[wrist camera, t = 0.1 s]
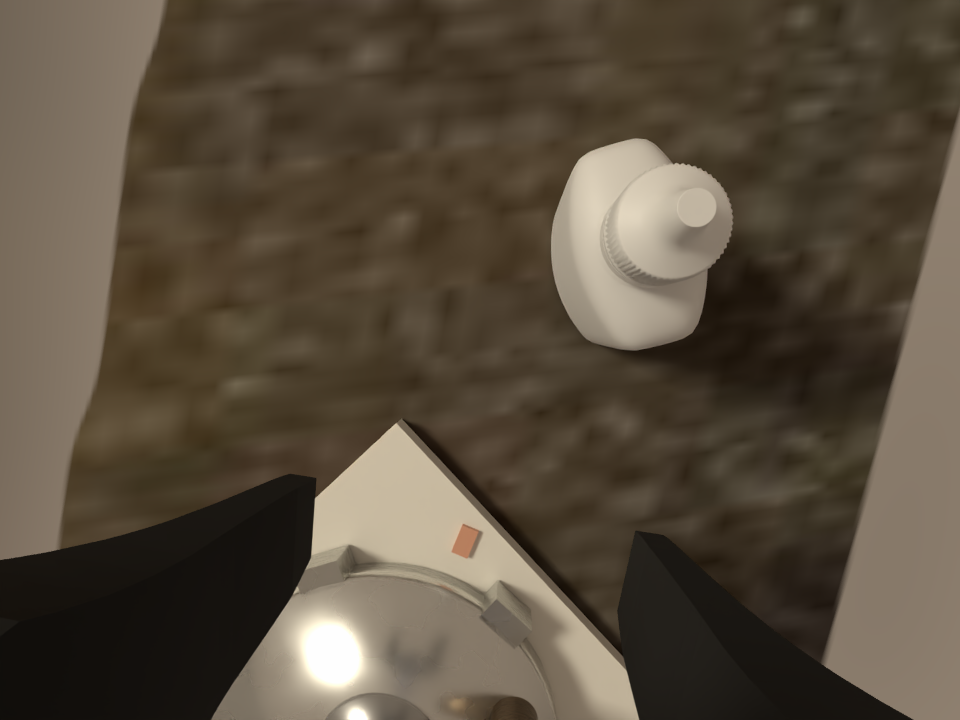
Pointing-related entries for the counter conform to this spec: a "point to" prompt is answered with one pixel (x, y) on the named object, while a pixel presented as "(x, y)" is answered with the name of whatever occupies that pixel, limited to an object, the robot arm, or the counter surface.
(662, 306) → the eye dropper bottle
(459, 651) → the tabbed shallow bowl
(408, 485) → the cap plate
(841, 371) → the counter surface
